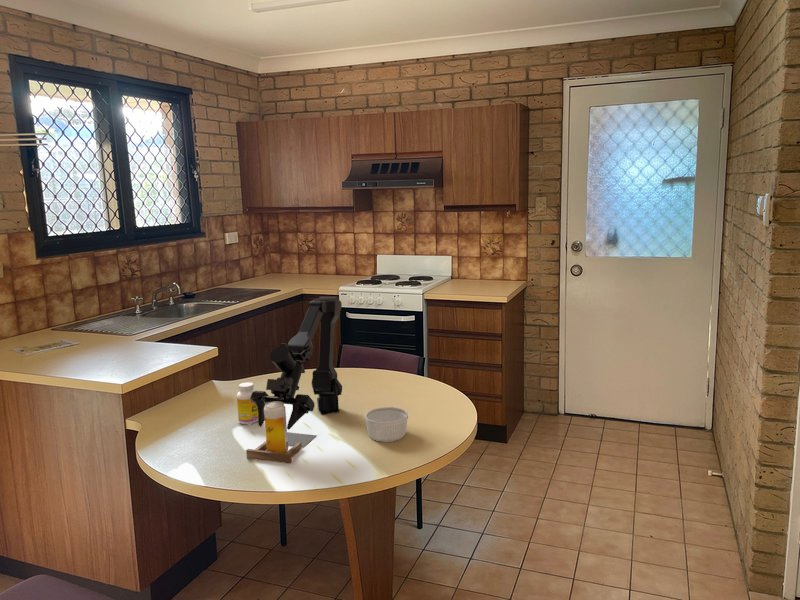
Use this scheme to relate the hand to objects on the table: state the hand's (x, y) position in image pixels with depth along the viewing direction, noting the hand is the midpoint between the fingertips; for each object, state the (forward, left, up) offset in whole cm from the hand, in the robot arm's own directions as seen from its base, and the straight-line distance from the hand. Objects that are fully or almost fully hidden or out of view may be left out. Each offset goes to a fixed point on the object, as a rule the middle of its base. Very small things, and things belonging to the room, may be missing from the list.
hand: (273, 427), depth 183 cm
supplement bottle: (+6, -30, -9) cm, 32 cm away
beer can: (-1, -1, -9) cm, 9 cm away
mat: (-6, -9, -8) cm, 14 cm away
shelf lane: (-1, -1, -8) cm, 8 cm away
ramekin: (-34, -2, -9) cm, 35 cm away
